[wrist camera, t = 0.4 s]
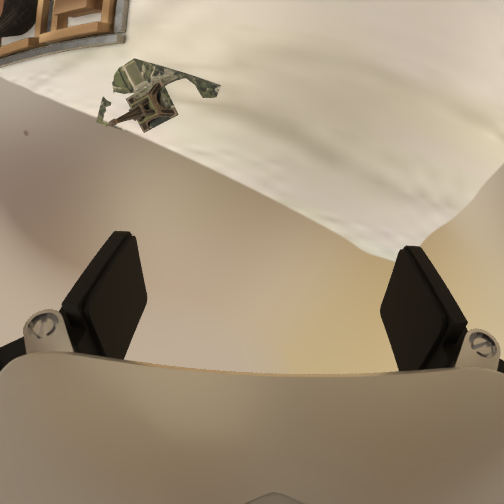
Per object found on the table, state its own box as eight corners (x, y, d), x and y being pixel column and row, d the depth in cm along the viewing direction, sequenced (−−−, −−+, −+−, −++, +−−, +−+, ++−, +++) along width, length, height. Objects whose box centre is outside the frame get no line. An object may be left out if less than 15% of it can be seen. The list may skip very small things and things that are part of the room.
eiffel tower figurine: (224, 84, 35) (203, 92, 24) (196, 156, 40) (167, 195, 29) (117, 53, 32) (59, 55, 21) (97, 123, 38) (40, 150, 26)
